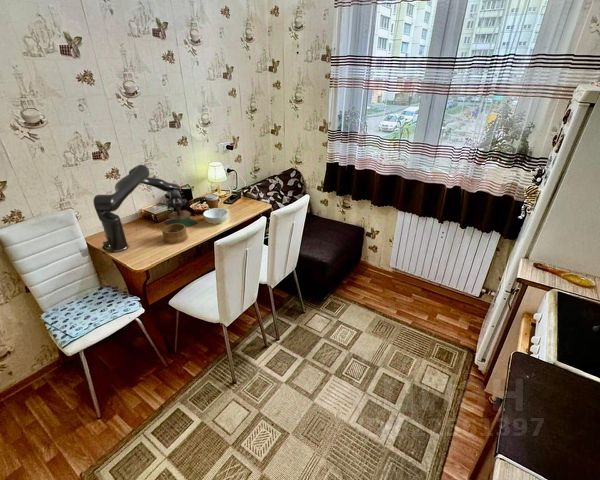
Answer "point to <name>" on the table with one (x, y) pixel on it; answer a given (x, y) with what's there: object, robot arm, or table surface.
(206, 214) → the cereal bowl
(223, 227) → the table surface
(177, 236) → the basket
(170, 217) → the basket lid
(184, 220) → the mat
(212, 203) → the disposable coffee cup
